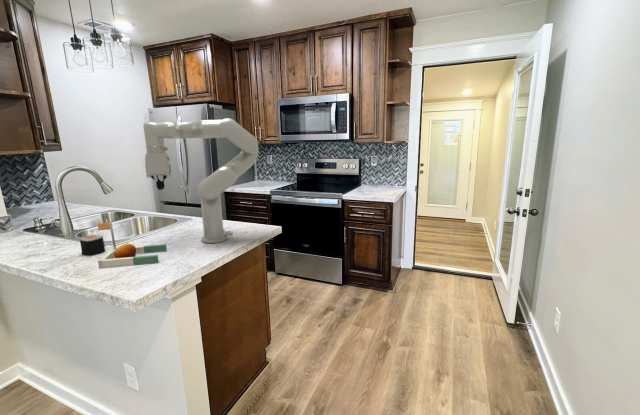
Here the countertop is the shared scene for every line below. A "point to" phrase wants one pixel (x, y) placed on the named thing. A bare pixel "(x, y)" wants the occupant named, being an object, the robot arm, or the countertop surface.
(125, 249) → the fruit
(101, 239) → the sushi
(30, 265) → the countertop surface
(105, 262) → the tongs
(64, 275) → the countertop surface
